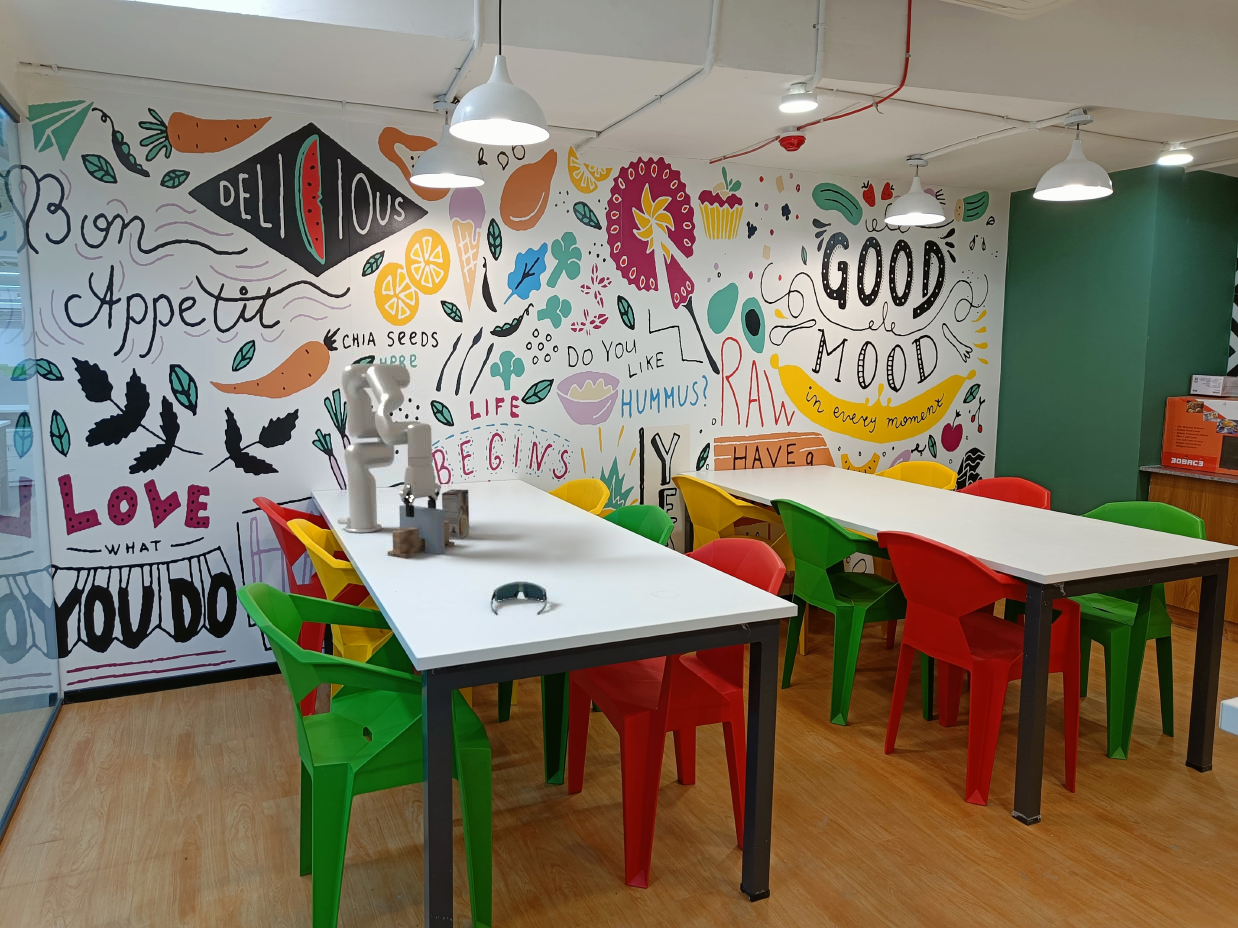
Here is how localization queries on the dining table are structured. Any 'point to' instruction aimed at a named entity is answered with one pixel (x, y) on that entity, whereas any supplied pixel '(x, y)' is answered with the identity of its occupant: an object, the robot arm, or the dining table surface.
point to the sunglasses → (515, 587)
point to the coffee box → (456, 512)
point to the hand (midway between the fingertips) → (421, 514)
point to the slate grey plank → (426, 526)
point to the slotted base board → (412, 542)
